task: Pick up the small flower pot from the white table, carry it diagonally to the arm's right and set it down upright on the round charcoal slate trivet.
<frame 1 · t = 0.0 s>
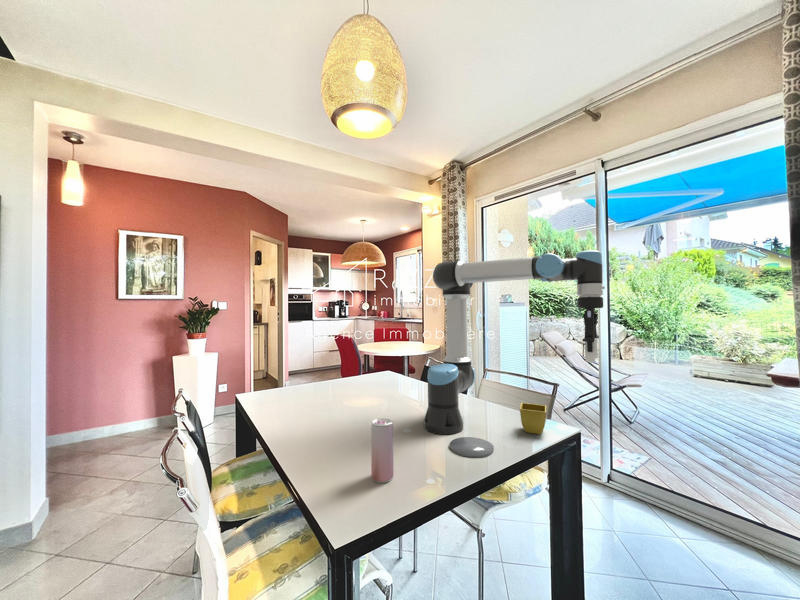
hand: (591, 359, 109), 28 cm above the table, fingers open, 13 cm apart
beverage can: (382, 478, 87), on the table
flower pot: (533, 432, 119), on the table
trivet: (471, 447, 105), on the table
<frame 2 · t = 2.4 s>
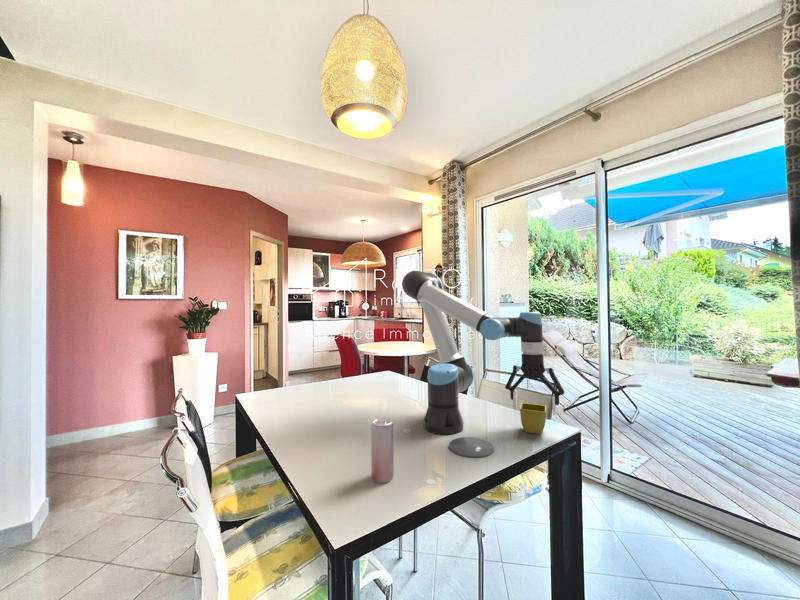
hand: (534, 411, 119), 8 cm above the table, fingers open, 13 cm apart
nothing on the table moved.
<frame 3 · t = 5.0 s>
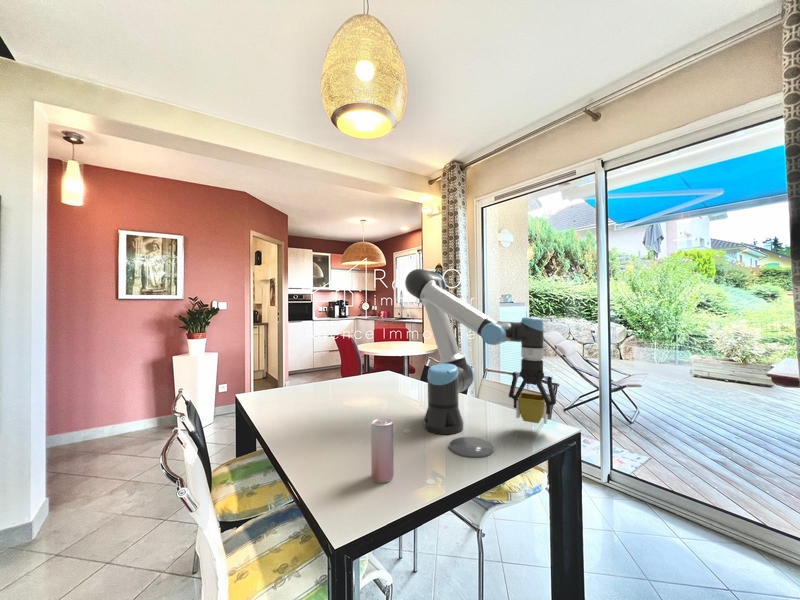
hand: (531, 419, 120), 4 cm above the table, fingers closed on flower pot, 9 cm apart
flower pot: (531, 421, 120), point 4 cm above the table, touching gripper
everything else where it was.
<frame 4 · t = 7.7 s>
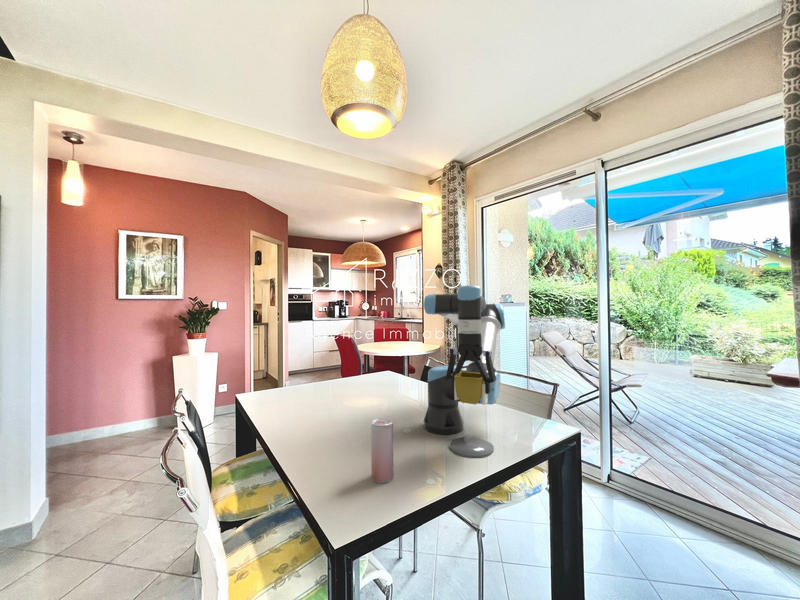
hand: (470, 401, 106), 15 cm above the table, fingers closed on flower pot, 9 cm apart
flower pot: (470, 402, 106), point 15 cm above the table, touching gripper
everything else where it was.
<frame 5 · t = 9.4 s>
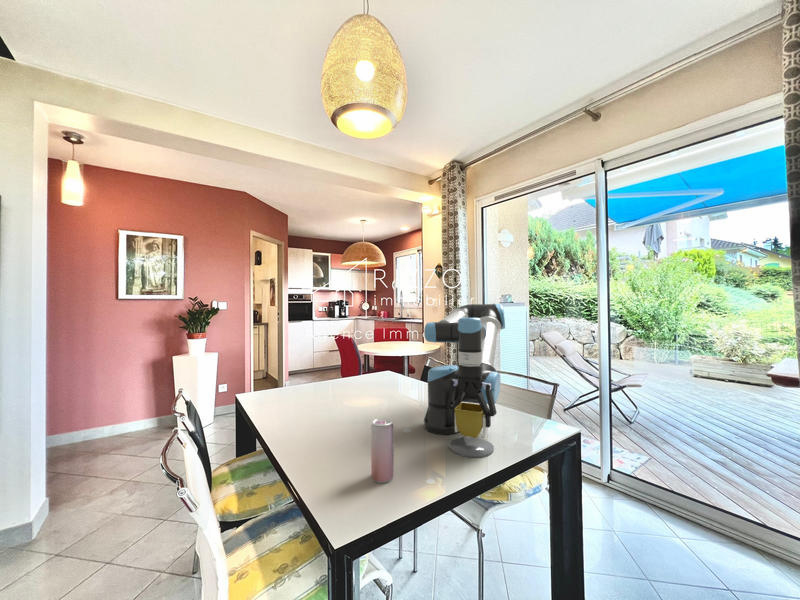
hand: (471, 433, 105), 5 cm above the table, fingers closed on flower pot, 9 cm apart
flower pot: (471, 435, 105), point 4 cm above the table, touching gripper
everything else where it was.
when the fingers open (3 cm above the table, at t = 10.8 s): flower pot drops 2 cm, resting on trivet.
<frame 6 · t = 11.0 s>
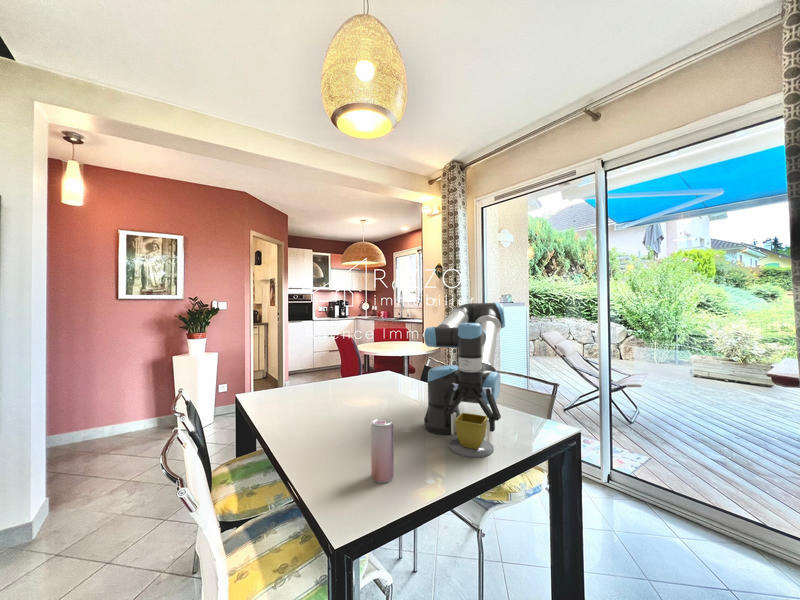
hand: (471, 437, 105), 4 cm above the table, fingers open, 11 cm apart
flower pot: (472, 446, 105), point 1 cm above the table, touching trivet
everything else where it was.
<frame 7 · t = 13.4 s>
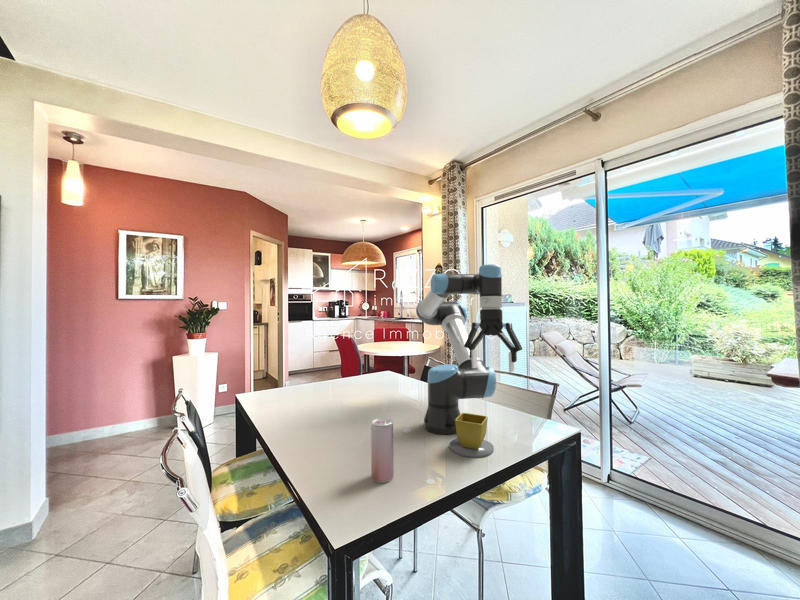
hand: (492, 369, 112), 24 cm above the table, fingers open, 13 cm apart
nothing on the table moved.
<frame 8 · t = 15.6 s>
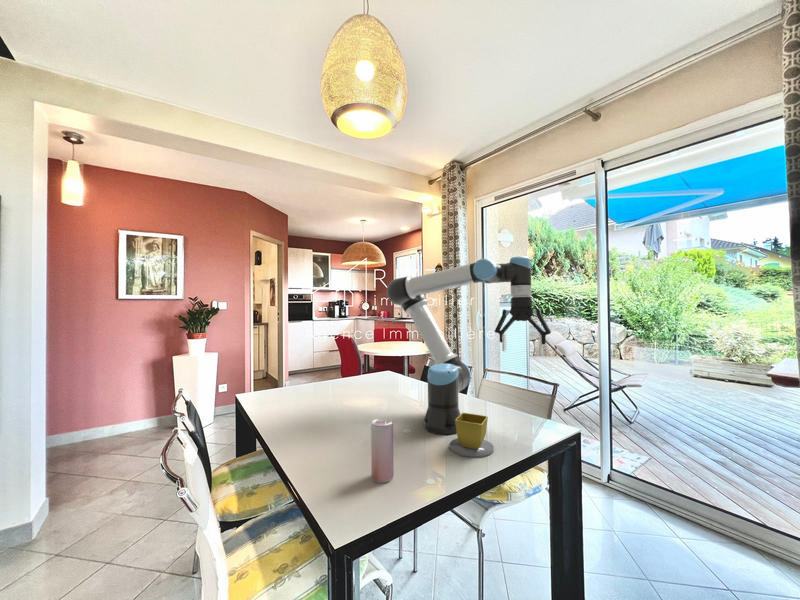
hand: (522, 352, 124), 29 cm above the table, fingers open, 13 cm apart
nothing on the table moved.
at the end: flower pot 0.4 cm from the trivet (horizontally); flower pot tilted 0°; the gripper is holding nothing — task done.
